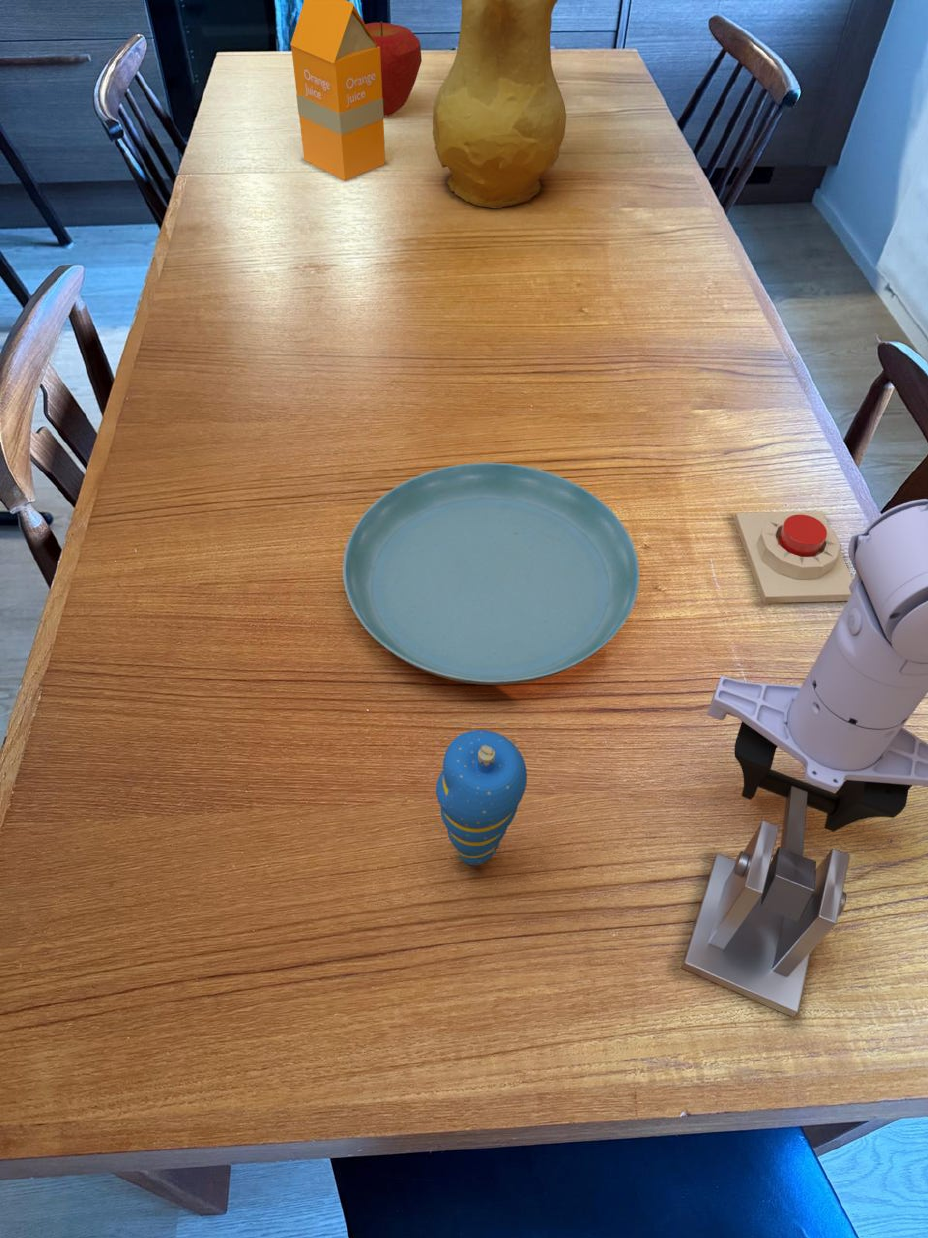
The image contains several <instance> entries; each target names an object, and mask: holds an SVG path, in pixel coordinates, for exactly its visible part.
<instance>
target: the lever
mask: <svg viewBox="0 0 928 1238" xmlns="http://www.w3.org/2000/svg"><path fill="white" fill-rule="evenodd" d="M758 789H761V790H764V791H767V792H769V793H772V794H774V795H776V796H780V797H782V798H785V805H784V812H783V822H782V831H781V840H780V846H778V847H777V848H776V850H775V853H774V855H773V856H772V859H771V863H770V867H769V871H768V875H767V879H766V883H765V887H764V890H763V894H762V900H761V906H762V907H765V908H767V909H770V910H772V911H774V912H777V913H779V914H782V915H784V916H786V917H789V918H791V919H794V920H796V921H800V919H801V917H802V915H803V913H804V911H805V909H806V907H807V905H808V903H809V901H810V899H811V897H812V895H813V893H814V891H815V873H816V869H817V861H816V860H814V859H812V858H810V857H807V856H804V850H805V849H804V848H805V838H806V837H805V836H806V835H805V834H806V821H807V808H811V809H813V810H816V811H819V812H822V813H823V814H826V815H827V814H829V815H832V814H833V813H834V812H835V810H836V807H837V805H838V801H839V795H838V794H835V793H836V792H832V791H828V790H826V789H823V788H820V787H818V786H815V785H812V784H810V783H809V782H807V781H803V780H801V779H798V778H795V777H793V776H790V775H787V774H784V773H782V772H780V771H777V770H774V769H772V768H771V770H770V771H769V772H767V773H766V774H765V776H764V777H763V778H762V780H761V781H760V783H759V785H758Z"/></svg>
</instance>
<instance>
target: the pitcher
mask: <svg viewBox="0 0 928 1238" xmlns="http://www.w3.org/2000/svg"><path fill="white" fill-rule="evenodd" d="M558 1H559V0H461V19H460V30H459V31H460V32H459V36H458V44H457V49H456V53H455V57H454V60H453V63H452V65H451V67H450V70H449V72H448V74H447V76H446V77H445V79H444V80H443V82H442V83H441V85H440V87H439V89H438V92H437V93H436V97H435V100H434V103H433V111H432V116H433V117H432V138H433V142H434V149H435V152H436V153H435V154H436V155H437V158H438V161H439V163H440V165H441V167H442V168H443V169H445V168H447V167H448V170H449V173H450V174H451V176H449V177H448V180H447V185H448V187H449V189H450V191H451V192H453V193H454V194H455V196H457V197H458V198H461V200H464V201H465V202H466V203H469V204H472V205H475V206H478V207H484V208H489V209H501V208H503V207H504V208H505V207H513V206H515V205H519V204H522V203H526V202H529V201H530V200H531V199H533V198H534V197H535V196H536V195H538V193H540V190H541V188H542V186H541V183H540V177H542V175H544V173H546V172H547V171H549V170H550V169H551V168H552V167H553V166H554V164H555V163H556V161H557V160H558V159H559V157H560V148H561V145H562V143H563V141H564V139H565V134H566V125H567V124H566V123H567V113H566V112H567V111H566V105H565V102H564V97H563V95H562V91H561V89H560V86H559V85H558V82H557V80H556V78H555V77H556V76H555V74H554V70H553V65H552V49H551V34H552V22H553V21H552V20H553V19H552V13H553V11H554V8H555V5H556V4H557V3H558Z"/></svg>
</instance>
